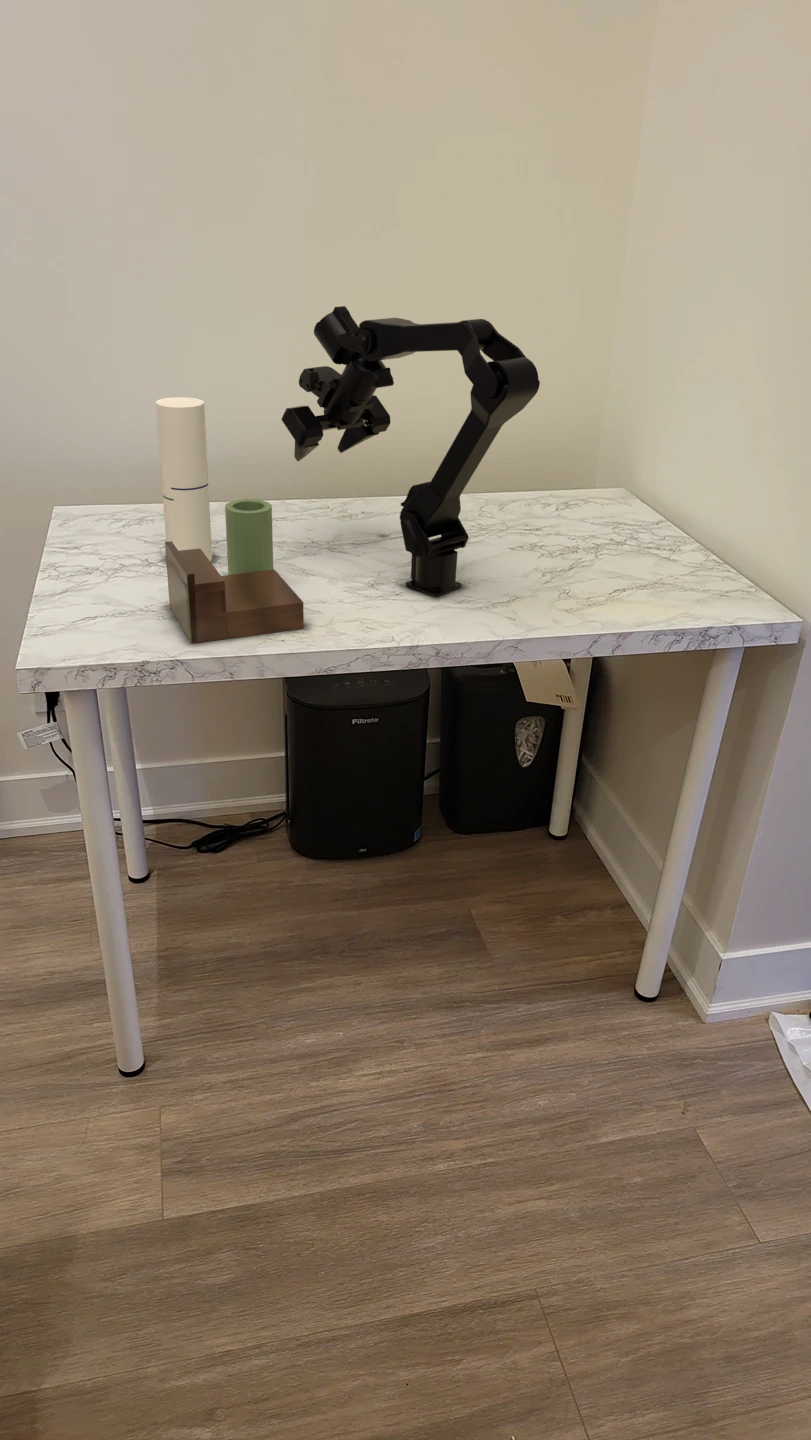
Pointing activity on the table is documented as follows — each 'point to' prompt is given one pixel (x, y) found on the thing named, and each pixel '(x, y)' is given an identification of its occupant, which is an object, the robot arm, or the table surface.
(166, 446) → the cylindrical container
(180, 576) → the wooden l-shaped bookend
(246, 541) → the jar
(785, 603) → the table surface
